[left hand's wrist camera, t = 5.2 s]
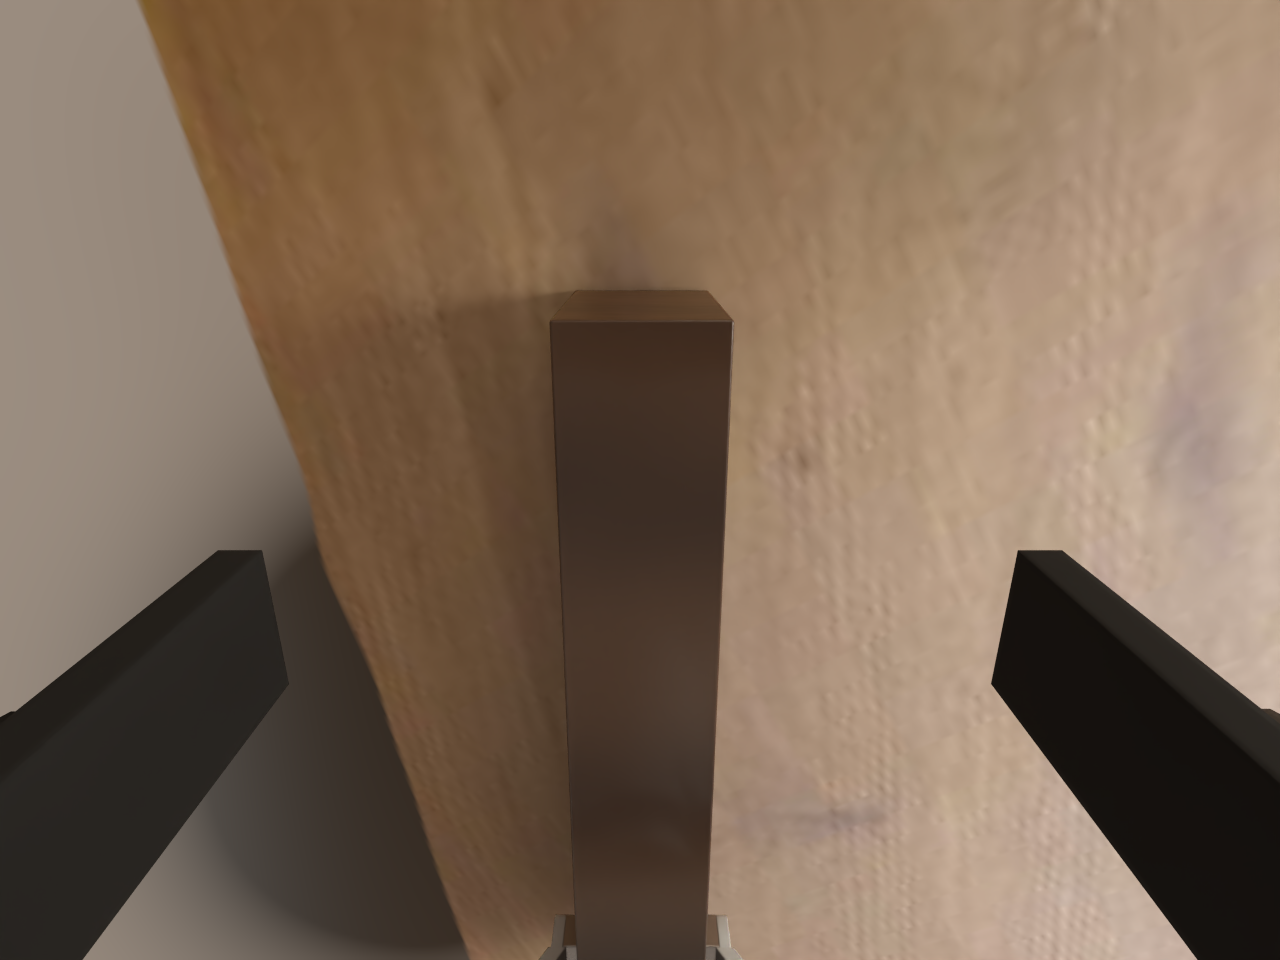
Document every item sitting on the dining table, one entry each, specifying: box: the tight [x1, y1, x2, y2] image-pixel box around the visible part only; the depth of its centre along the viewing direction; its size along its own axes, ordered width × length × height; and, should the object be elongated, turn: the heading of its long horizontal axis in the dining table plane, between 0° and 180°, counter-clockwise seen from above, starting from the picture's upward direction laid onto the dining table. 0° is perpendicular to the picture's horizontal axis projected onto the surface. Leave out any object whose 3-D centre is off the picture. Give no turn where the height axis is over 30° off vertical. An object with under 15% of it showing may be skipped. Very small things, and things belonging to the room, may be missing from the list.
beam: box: [550, 291, 734, 960], centre depth 29 cm, size 32×5×8 cm, turn 0°
